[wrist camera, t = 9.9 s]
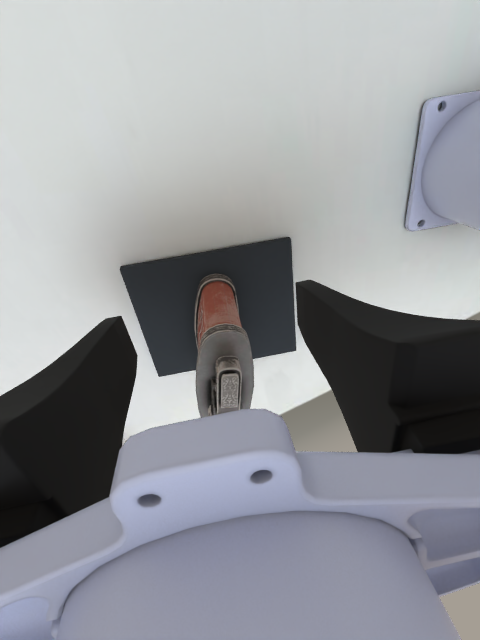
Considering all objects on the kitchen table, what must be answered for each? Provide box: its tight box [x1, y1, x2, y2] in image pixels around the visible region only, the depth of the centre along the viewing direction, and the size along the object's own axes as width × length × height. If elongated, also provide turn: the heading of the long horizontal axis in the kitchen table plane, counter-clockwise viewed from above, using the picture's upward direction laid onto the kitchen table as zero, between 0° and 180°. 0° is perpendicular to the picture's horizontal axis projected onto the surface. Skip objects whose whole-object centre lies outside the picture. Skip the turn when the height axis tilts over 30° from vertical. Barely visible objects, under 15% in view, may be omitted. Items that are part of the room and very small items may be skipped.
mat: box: [120, 237, 296, 377], centre depth 25 cm, size 12×10×1 cm
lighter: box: [194, 274, 254, 418], centre depth 20 cm, size 8×3×10 cm, turn 178°
